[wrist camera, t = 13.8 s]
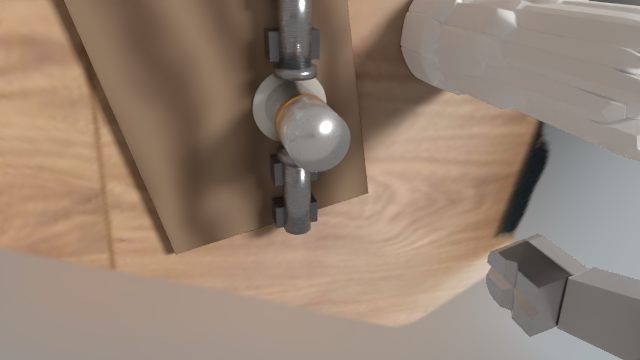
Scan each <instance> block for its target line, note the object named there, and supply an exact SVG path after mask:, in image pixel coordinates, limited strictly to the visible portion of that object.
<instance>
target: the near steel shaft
mask: <svg viewBox="0 0 640 360" xmlns="http://www.w3.org/2000/svg"><path fill="white" fill-rule="evenodd" d="M277 18H278V28H264V49H265V57H266V58H267V59H268V60H269V61H270V62H274V61H279V63H278V64H275V65H274V66H273V73H274V77H275V78H277V79H280V80H286V81H305V80H311V79H314V78H316V77H317V65H315V64H313V63H311V59H319V58H320V30H318V29H316V28H314V27H312V0H277Z"/></svg>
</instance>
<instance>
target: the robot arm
mask: <svg viewBox="0 0 640 360" xmlns="http://www.w3.org/2000/svg"><path fill="white" fill-rule="evenodd" d="M487 263H488V264H489V265H490V266H492V267H491V268H490V270H489V271H488V273H487V275H486V284H487V287H488V290H489V292H490V294H491V296H492V297H493V299H494V300H495V301H496V302H497V303H498V304H499V305H500V306H501V307H503V308H506V309H508V310H511V314H512V319H513V320H514V321H515V322H516V323H517V324H518V325H519V326H520V327H521V328H522V329H523V330H524V331H525V333H526V334H527V335H528V336H529V337H531V336H533V335H536V334H539V333H541V332H544V331H546V330H548V329H551V328H554V327H556V326H558V327H557V328H558V329H560V330H563V331H565V332H567V333H569V334H571V335H573V336H575V337H577V338H579V339H581V340H583V341H585V342H588V343H590V344H592V345H594V346H596V347H598V348H600V349H602V350H604V351H606V352H609V353H611V354H613V355H615V356H617V357H619V358H621V359H623V360H640V280H638V279H634V278H630V277H627V276H623V275H620V274H616V273H613V272H609V271H605V270H602V269H598V268H590V269H589V268H587V267H586V266H584V265H583V264H582V263H580V262H579V261H578V260H576V259H575V258H573V257H572V256H571V255H569V254H568V253H566V252H565V251H564V250H562V249H561V248H560V247H558V246H557V245H556V244H554V243H553V242H552V241H550V240H549V239H547V238H546V237H545V236H543V235H540V234H536V235H534V236H531V237H528V238H526V239H523V240H521V241H517V242H514V243H512V244H509V245H507V246H504V247H501V248H499V249H496V250H494V251H491V252H490V254H489V255H488V262H487Z"/></svg>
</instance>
